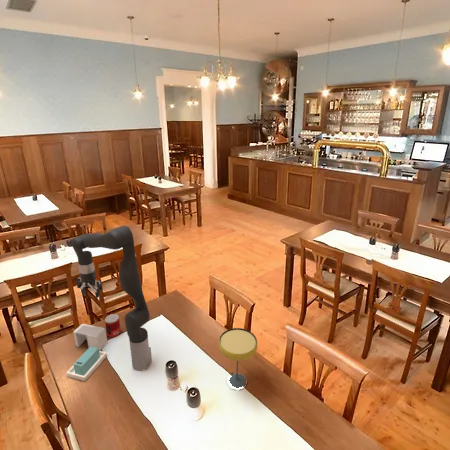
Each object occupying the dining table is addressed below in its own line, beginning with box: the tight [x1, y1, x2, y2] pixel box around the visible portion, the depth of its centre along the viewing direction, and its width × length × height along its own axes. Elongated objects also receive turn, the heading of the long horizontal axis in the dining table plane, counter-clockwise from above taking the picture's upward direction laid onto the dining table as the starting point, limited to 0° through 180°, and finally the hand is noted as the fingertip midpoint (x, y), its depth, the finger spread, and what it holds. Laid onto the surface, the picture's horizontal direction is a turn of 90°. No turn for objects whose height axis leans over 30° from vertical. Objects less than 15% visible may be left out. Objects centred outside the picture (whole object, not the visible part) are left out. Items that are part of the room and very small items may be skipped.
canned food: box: [104, 313, 122, 338], centre depth 185 cm, size 8×8×11 cm
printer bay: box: [72, 323, 108, 351], centre depth 176 cm, size 15×8×10 cm, turn 75°
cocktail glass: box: [218, 327, 258, 388], centre depth 150 cm, size 18×18×25 cm
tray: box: [66, 350, 108, 382], centre depth 162 cm, size 11×18×3 cm, turn 165°
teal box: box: [72, 346, 100, 376], centre depth 161 cm, size 5×13×7 cm, turn 165°
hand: (91, 295), depth 173 cm, fingers open, 8 cm apart
